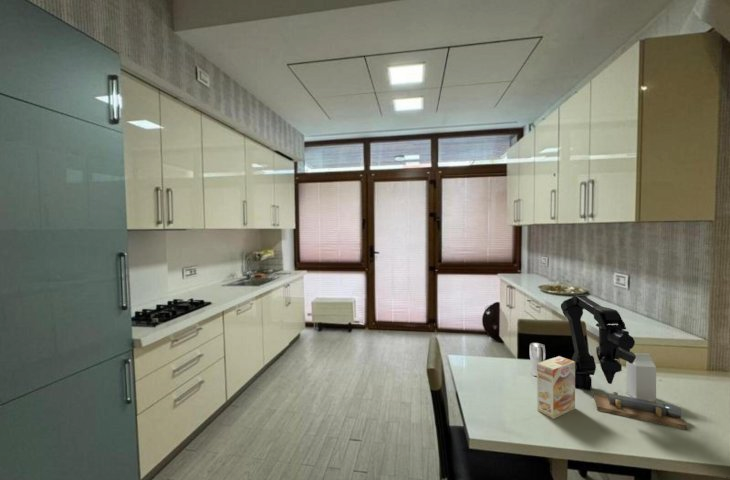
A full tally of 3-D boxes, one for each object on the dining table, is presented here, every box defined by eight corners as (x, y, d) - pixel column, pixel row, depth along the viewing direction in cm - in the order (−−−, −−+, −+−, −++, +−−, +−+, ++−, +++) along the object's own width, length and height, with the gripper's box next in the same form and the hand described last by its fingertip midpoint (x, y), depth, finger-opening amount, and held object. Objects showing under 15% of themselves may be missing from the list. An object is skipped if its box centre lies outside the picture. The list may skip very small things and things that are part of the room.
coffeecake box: (554, 419, 121) (553, 369, 120) (536, 410, 127) (535, 362, 127) (576, 408, 128) (575, 361, 127) (558, 400, 134) (558, 355, 134)
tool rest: (597, 410, 126) (597, 399, 126) (593, 396, 136) (593, 386, 136) (686, 429, 113) (686, 417, 113) (675, 412, 123) (675, 401, 123)
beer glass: (543, 372, 160) (543, 343, 160) (546, 378, 154) (546, 348, 153) (528, 370, 162) (528, 342, 162) (531, 376, 156) (530, 346, 156)
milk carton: (656, 402, 130) (656, 357, 130) (636, 401, 132) (636, 356, 131) (644, 393, 137) (644, 351, 137) (626, 392, 139) (625, 350, 138)
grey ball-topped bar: (609, 404, 127) (609, 397, 127) (608, 399, 131) (608, 392, 131) (682, 420, 116) (682, 412, 116) (678, 413, 120) (678, 405, 120)
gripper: (639, 351, 115) (639, 394, 115) (628, 336, 131) (629, 373, 131) (601, 346, 120) (601, 387, 121) (595, 332, 136) (596, 368, 137)
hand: (608, 378), depth 127 cm, fingers open, 9 cm apart
